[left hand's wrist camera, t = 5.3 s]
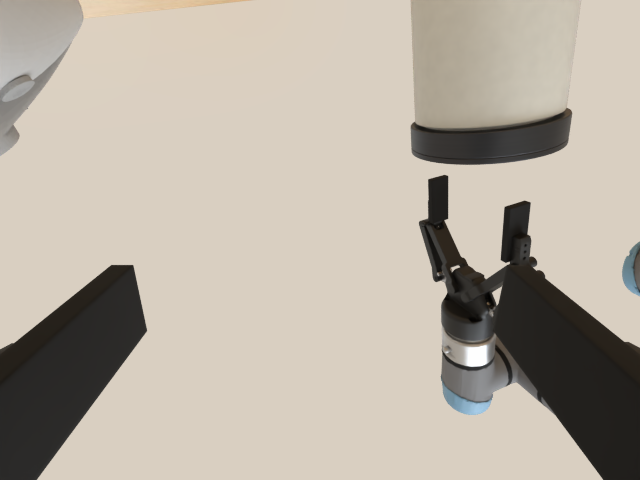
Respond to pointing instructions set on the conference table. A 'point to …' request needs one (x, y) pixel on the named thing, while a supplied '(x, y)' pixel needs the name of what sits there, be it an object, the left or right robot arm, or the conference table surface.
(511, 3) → the jar
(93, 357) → the left robot arm
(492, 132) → the lid
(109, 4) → the conference table surface
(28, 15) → the projector
